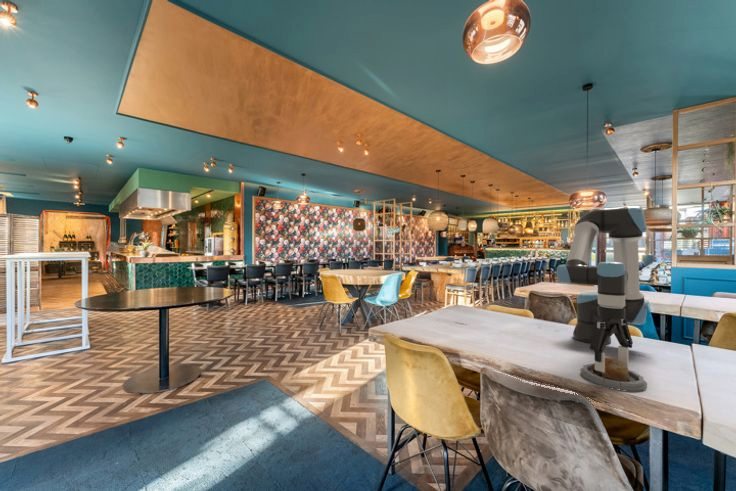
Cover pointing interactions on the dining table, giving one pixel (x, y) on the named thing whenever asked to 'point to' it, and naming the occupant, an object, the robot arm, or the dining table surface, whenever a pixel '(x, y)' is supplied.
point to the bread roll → (614, 370)
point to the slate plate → (632, 385)
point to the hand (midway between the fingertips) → (611, 368)
